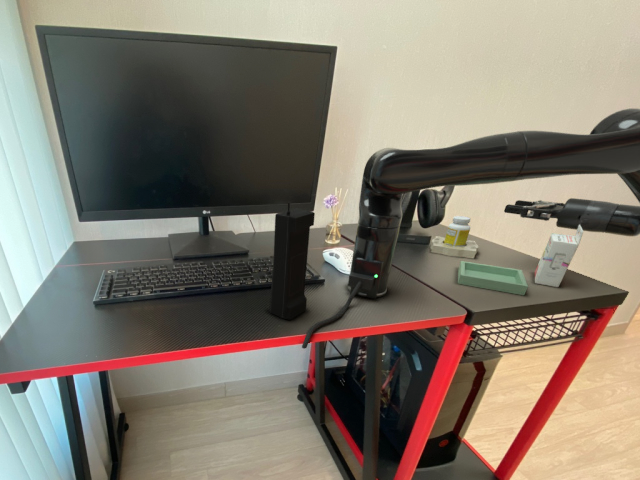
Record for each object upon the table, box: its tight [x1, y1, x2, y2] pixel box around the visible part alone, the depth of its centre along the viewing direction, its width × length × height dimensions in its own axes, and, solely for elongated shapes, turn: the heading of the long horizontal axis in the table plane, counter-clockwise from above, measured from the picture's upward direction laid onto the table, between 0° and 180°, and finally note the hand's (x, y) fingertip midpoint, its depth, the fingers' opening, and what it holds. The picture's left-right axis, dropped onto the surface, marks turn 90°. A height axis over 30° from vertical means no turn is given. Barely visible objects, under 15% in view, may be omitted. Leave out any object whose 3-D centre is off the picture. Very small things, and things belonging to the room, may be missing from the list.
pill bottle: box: [444, 215, 471, 247], centre depth 107 cm, size 6×6×11 cm
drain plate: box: [429, 235, 479, 259], centre depth 109 cm, size 13×13×2 cm
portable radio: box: [268, 201, 316, 321], centre depth 69 cm, size 8×6×25 cm
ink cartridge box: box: [533, 225, 584, 288], centre depth 84 cm, size 9×5×15 cm, turn 143°
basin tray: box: [457, 260, 529, 296], centre depth 86 cm, size 12×14×2 cm
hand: (510, 206), depth 94 cm, fingers open, 8 cm apart
